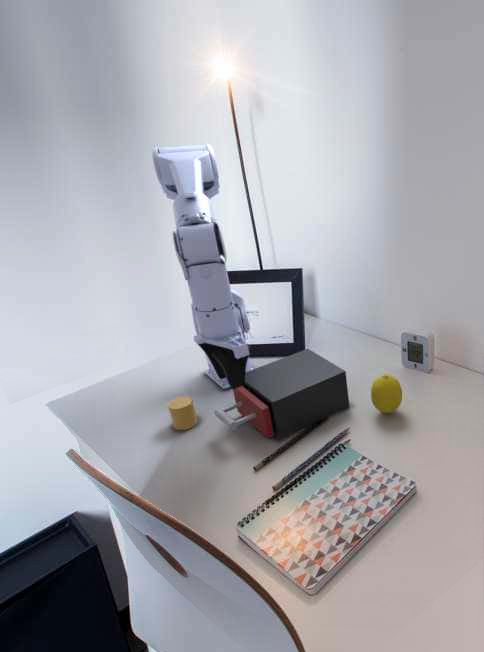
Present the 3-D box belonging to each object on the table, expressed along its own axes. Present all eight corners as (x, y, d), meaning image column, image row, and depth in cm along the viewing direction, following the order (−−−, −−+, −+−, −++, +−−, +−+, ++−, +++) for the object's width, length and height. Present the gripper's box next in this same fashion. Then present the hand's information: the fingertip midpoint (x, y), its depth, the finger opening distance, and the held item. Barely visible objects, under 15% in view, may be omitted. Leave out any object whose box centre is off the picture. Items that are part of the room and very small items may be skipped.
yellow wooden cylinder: (170, 423, 95) (163, 402, 93) (192, 414, 97) (186, 394, 95) (179, 433, 92) (172, 411, 90) (201, 423, 95) (195, 402, 92)
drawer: (240, 451, 86) (233, 422, 83) (211, 422, 93) (204, 394, 90) (334, 407, 97) (331, 379, 94) (301, 384, 104) (297, 358, 101)
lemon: (399, 423, 93) (397, 384, 89) (369, 420, 94) (365, 381, 90) (406, 405, 98) (404, 368, 94) (377, 403, 99) (374, 366, 95)
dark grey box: (279, 440, 90) (272, 402, 86) (245, 410, 98) (237, 375, 94) (349, 406, 98) (345, 371, 95) (312, 381, 106) (307, 348, 103)
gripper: (169, 299, 83) (190, 374, 89) (208, 326, 73) (228, 408, 80) (213, 287, 87) (230, 360, 93) (254, 311, 77) (270, 390, 84)
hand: (231, 381), depth 87 cm, fingers open, 4 cm apart
